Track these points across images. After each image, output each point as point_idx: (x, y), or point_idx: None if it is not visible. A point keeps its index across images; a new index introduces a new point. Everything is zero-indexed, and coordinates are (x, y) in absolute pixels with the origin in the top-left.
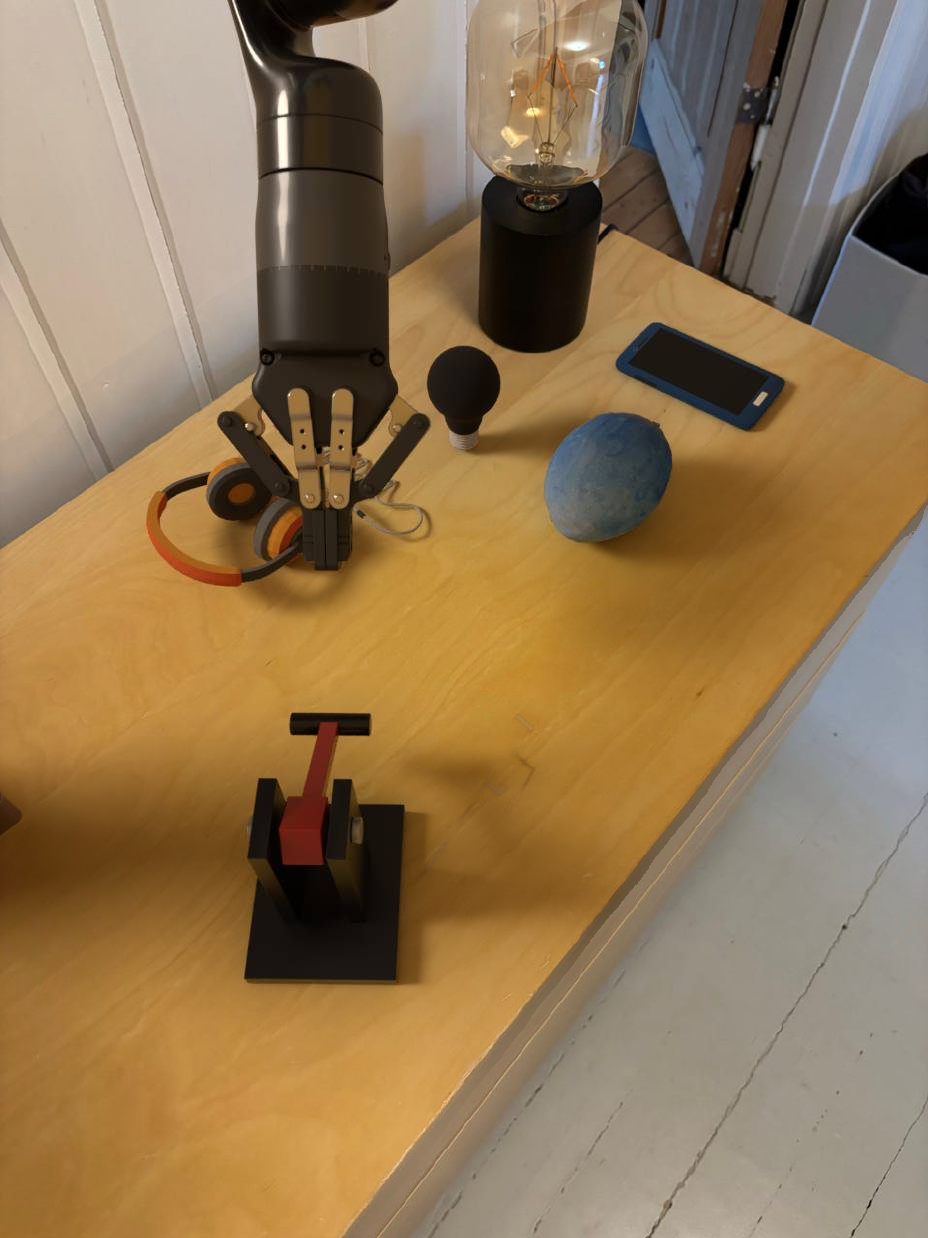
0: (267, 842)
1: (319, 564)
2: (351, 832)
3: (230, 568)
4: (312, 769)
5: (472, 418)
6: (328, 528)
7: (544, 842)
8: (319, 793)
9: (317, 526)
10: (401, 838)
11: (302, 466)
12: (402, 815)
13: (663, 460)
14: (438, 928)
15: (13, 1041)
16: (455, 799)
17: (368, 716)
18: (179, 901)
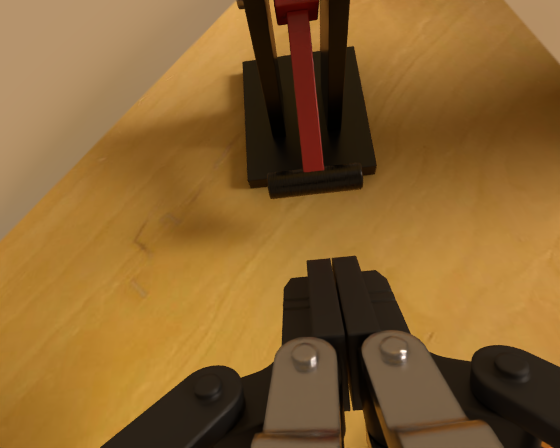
0: None
1: (344, 257)
2: None
3: (546, 444)
4: (310, 76)
5: None
6: (331, 305)
7: (132, 178)
8: (291, 32)
9: (360, 306)
10: (247, 152)
11: (453, 422)
12: (248, 170)
13: None
14: (217, 108)
15: (506, 5)
16: (206, 204)
17: (269, 184)
18: (426, 97)
